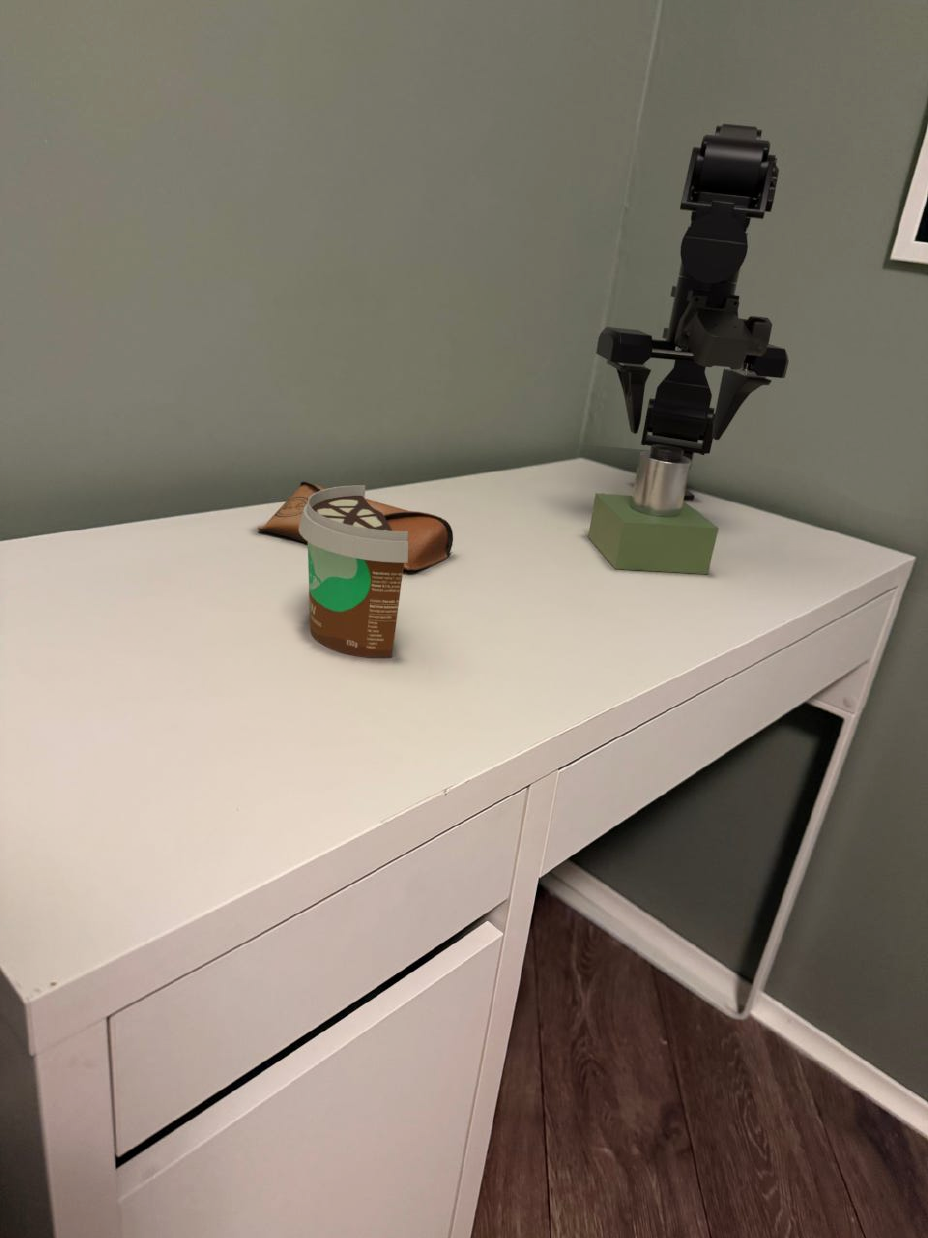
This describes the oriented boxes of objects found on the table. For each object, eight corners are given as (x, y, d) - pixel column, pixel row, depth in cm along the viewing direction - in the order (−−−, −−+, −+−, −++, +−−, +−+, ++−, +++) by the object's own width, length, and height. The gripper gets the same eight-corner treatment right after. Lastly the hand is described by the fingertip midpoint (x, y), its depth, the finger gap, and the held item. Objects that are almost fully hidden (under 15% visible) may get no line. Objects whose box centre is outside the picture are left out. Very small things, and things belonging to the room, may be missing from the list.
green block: (587, 536, 98) (595, 492, 96) (672, 542, 100) (682, 499, 98) (614, 569, 89) (624, 521, 87) (707, 574, 91) (719, 527, 89)
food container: (281, 602, 72) (285, 482, 68) (355, 599, 74) (363, 483, 70) (312, 672, 62) (319, 534, 58) (397, 666, 64) (410, 534, 60)
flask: (623, 500, 95) (635, 440, 92) (669, 504, 96) (682, 444, 93) (639, 515, 90) (652, 452, 87) (687, 518, 91) (701, 456, 88)
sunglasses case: (250, 527, 86) (273, 463, 87) (285, 547, 93) (306, 487, 94) (414, 572, 80) (437, 503, 81) (439, 590, 87) (460, 526, 87)
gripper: (644, 276, 79) (613, 448, 86) (835, 297, 83) (791, 462, 89) (608, 267, 89) (583, 422, 96) (779, 287, 93) (744, 435, 99)
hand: (675, 436), depth 95 cm, fingers open, 9 cm apart
